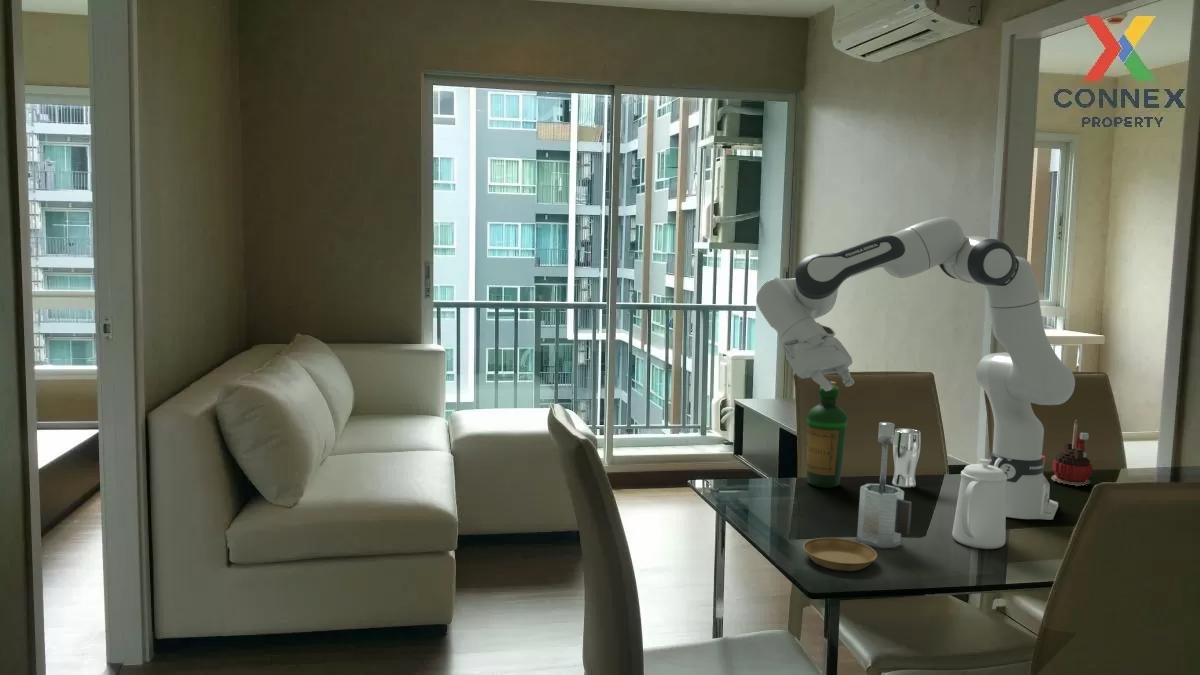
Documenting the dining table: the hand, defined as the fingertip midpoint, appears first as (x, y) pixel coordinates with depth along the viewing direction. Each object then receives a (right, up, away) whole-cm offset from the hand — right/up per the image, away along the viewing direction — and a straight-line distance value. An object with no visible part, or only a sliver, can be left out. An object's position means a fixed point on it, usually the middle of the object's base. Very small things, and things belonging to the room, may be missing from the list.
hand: (840, 387), depth 200 cm
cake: (+78, -30, +51) cm, 98 cm away
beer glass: (+29, -29, +44) cm, 60 cm away
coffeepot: (+30, -35, -1) cm, 46 cm away
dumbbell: (+7, -24, -5) cm, 26 cm away
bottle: (+6, -29, +42) cm, 51 cm away
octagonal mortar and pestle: (+7, -34, -4) cm, 35 cm away
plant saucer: (-5, -35, -16) cm, 39 cm away
